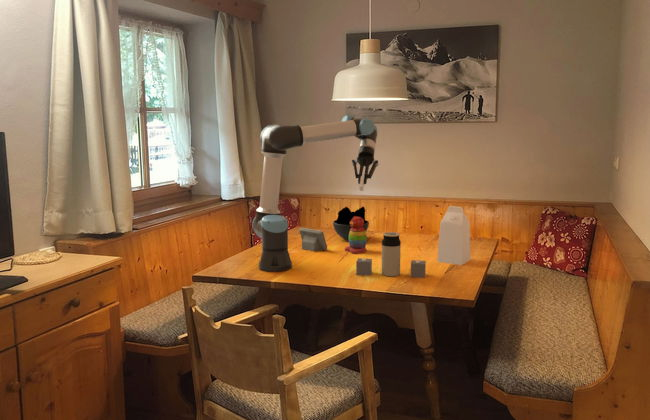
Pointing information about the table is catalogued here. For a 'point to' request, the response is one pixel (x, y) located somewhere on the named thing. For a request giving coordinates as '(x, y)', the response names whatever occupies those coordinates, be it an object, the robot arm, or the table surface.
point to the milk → (454, 237)
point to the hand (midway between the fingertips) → (361, 188)
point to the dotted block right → (418, 268)
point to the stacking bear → (357, 236)
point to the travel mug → (391, 254)
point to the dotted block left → (363, 266)
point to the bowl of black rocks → (348, 221)
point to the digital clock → (313, 239)
